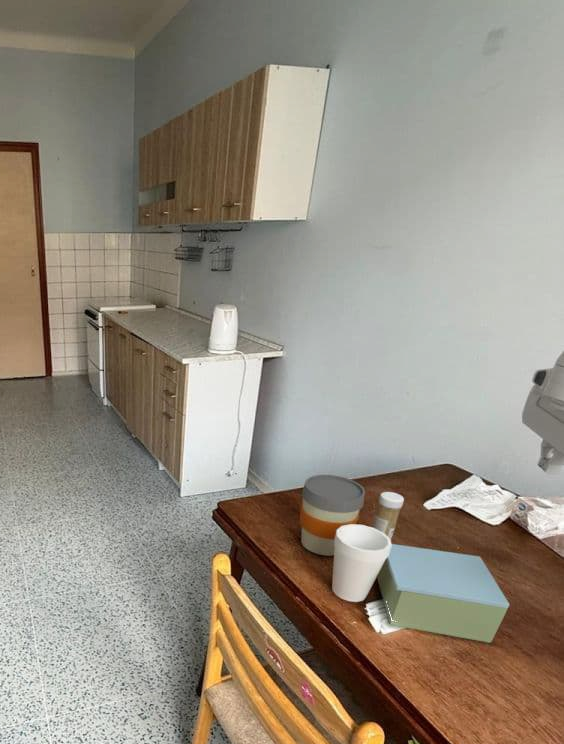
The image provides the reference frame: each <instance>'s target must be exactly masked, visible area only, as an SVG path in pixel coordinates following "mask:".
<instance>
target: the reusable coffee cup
mask: <svg viewBox="0 0 564 744" xmlns="http://www.w3.org/2000/svg"><path fill="white" fill-rule="evenodd" d="M365 496H366V489H365V488H364V486H362V485H361V484H360V483H358V482H357V481H355V480H352V479H350V478H348V477H344V476H341V475H340V476H339V475H334V474H316V475H312V476H310V477H308V478H307V479H306V480H305V482H304V484H303V488H302V492H301V497H302V501H301V502H300V513H299V514H300V515H299V518H300V519H299V524H300V526H301V535H300V542H301V545H302V547H304V548H305V549H306V550H308V551H309V552H312V553H313V554H317V555H321V556H328V557H329V556H330V557H331V556H334V553H335V546H334V539H335V535H336V531H337V529H339V528H340V527H341V526H344V525H349V524H357V523H358V520H359V518H360V510H361V509H362V508H363V507H364V504H365Z"/></svg>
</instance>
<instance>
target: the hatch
mask: <svg viewBox="0 0 564 744" xmlns="http://www.w3.org/2000/svg"><path fill="white" fill-rule="evenodd" d="M391 544H392V547H391V550H390V553H389V556H388V557H387V558H386V559H387V563H388V566H389V569H390V572H391V575H392V578H393V581H394V584H395V587H396V590H401V591H407V592H413V593H419V594H425V595H431V596H437V597H443V598H449V599H455V600H461V601H467V602H473V603H479V604H485V605H491V606H497V607H503V608H509V607H510V603H509V601H508V600H507V597H506V596H505V594H504V593H503V591H502V590H501V587H500V586H499V584H498V583H497V582H496V580H495V578H494V577H493V575H492V573H491V572H490V570H489V569H488V567H487V565H486V564H485V562H484V560H483V559H482V557H481V556H478V555H472V554H464V553H458V552H450V551H443V550H436V549H430V548H422V547H415V546H410V545H402V544H395V543H391Z"/></svg>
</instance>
